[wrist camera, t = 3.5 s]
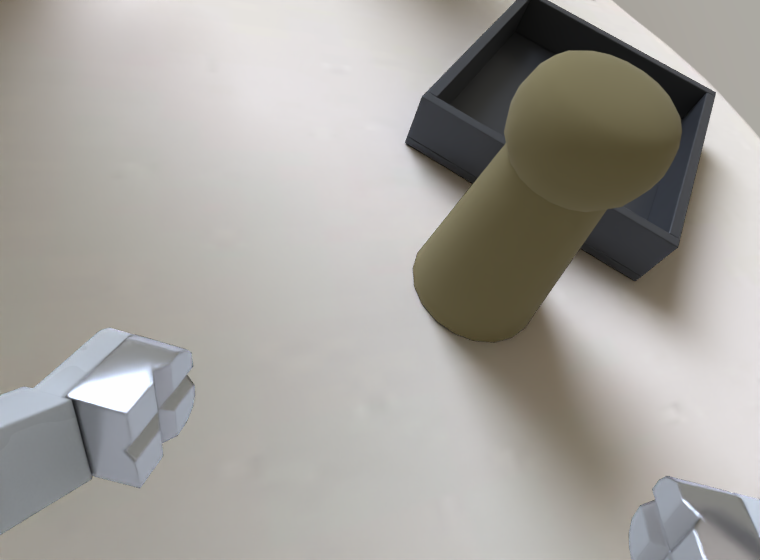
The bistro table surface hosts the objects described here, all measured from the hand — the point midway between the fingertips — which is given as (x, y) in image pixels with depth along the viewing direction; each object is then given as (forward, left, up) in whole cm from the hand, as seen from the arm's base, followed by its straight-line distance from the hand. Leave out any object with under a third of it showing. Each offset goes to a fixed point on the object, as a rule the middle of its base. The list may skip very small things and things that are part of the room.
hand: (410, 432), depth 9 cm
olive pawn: (-8, +9, -10) cm, 15 cm away
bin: (-17, +20, -10) cm, 28 cm away
